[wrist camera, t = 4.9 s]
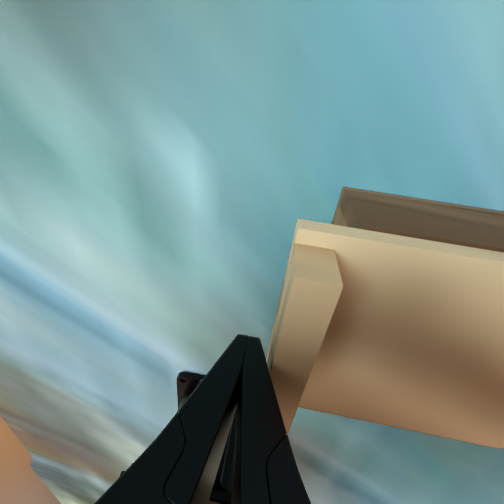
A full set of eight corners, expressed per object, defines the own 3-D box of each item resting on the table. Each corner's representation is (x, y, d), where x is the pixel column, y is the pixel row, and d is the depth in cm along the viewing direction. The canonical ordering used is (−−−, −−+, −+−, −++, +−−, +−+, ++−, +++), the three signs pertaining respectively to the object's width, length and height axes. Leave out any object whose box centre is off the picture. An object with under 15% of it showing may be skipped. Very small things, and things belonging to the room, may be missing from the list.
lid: (491, 431, 12) (532, 502, 10) (260, 385, 13) (253, 441, 11) (671, 280, 8) (815, 350, 6) (297, 218, 8) (298, 260, 6)
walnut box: (480, 357, 16) (534, 434, 13) (301, 324, 17) (303, 388, 13) (596, 226, 12) (737, 287, 8) (343, 186, 12) (363, 225, 8)
